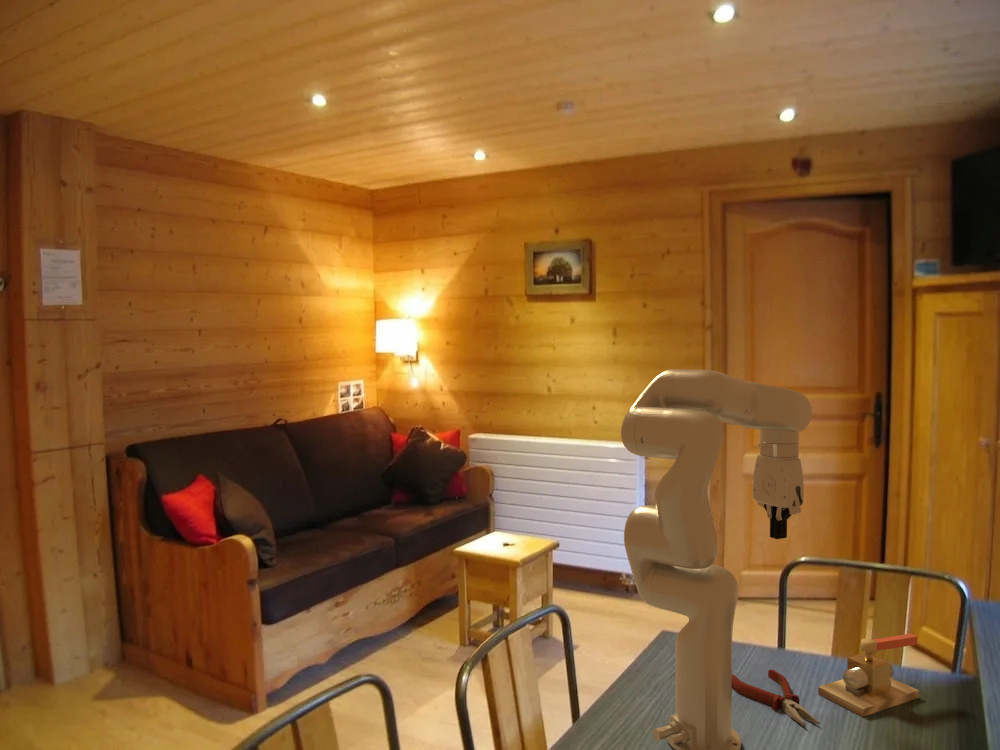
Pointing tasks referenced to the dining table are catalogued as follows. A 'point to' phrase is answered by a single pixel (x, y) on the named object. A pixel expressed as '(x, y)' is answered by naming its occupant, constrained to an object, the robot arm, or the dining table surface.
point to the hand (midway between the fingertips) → (778, 537)
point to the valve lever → (887, 643)
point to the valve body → (867, 675)
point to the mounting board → (868, 697)
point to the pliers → (775, 697)
